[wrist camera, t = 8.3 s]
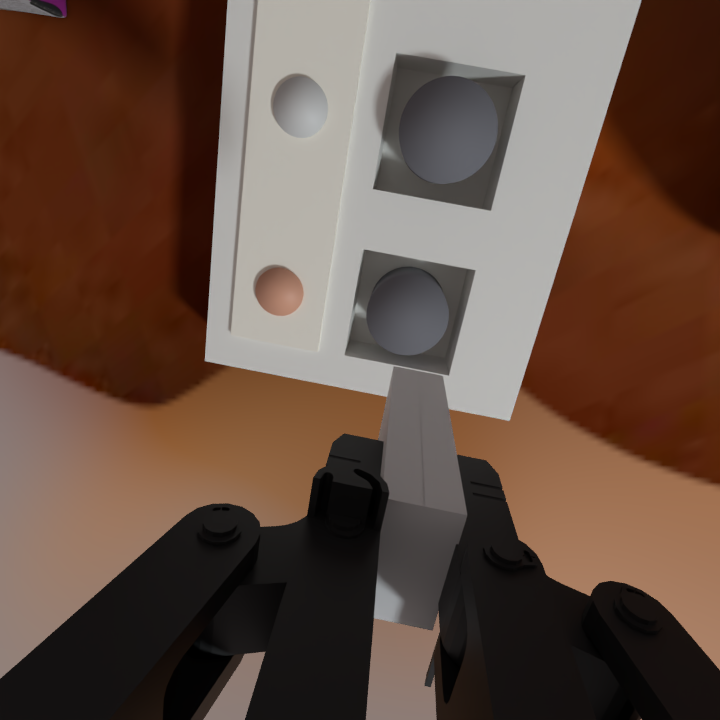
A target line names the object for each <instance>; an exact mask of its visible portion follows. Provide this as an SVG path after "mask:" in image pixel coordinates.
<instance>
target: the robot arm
mask: <svg viewBox="0 0 720 720" xmlns="http://www.w3.org/2000/svg"><path fill="white" fill-rule="evenodd" d="M438 611H439V623H440V633H439V636H438V639H437V643H436V646H435V650H434V652H433V655H432V659H431V662H430V665H429V668H428V672H427V675H426V680H425V686H428V687H431V684H432V680H433V678H434V675H435V692H436V693H435V694H436V715H437V720H640V719H642V720H720V670H719V669H718V668H717V666H716V665H715V664H714V663H713V662H712V661H711V659H710V658H709V657H708V656H707V655H706V654H705V652H704V651H703V650H702V649H701V648H700V647H699V646H698V644H697V643H696V642H695V641H694V640H693V638H692V637H691V636H690V635H689V634H688V633H687V631H686V630H685V629H684V628H683V627H682V625H681V624H680V623H679V622H678V621H677V620H676V618H675V617H674V616H673V615H672V614H671V613H670V612H669V611H668V610H667V609H666V608H665V607H664V606H663V605H662V604H661V603H660V602H658V601H657V600H656V599H654V598H653V597H651V596H649V595H648V594H646V593H645V592H643V591H642V590H640V589H637V588H635V587H632V586H630V585H628V584H625V583H619V582H614V581H608V582H602V583H599V584H598V585H597V586H596V587H595V588H594V589H593V591H592V594H591V596H588V595H586V594H584V593H581V592H579V591H577V590H575V589H572V588H570V587H568V586H565V585H563V584H561V583H559V582H557V581H555V580H553V579H552V578H550V577H548V576H547V575H546V574H545V571H544V568H543V565H542V563H541V562H540V560H539V558H538V556H537V555H536V553H535V552H534V551H533V550H531V549H530V548H529V547H528V546H527V545H526V544H525V543H523V542H521V541H520V540H518V536H517V533H516V530H515V527H514V524H513V521H512V517H511V514H510V511H509V508H508V504H507V502H506V498H505V495H504V491H503V490H502V485H501V482H500V478H499V475H498V473H497V472H496V471H495V470H494V469H493V468H492V466H491V465H490V464H489V463H488V462H487V461H486V460H481V459H476V458H471V457H466V456H461V455H457V454H456V448H455V442H454V436H453V431H452V425H451V419H450V414H449V408H448V402H447V397H446V391H445V385H444V380H443V376H442V375H437V374H432V373H427V372H422V371H416V370H411V369H406V368H401V367H396V366H394V367H393V371H392V376H391V381H390V386H389V390H388V395H387V400H386V405H385V409H384V415H383V419H382V424H381V429H380V433H379V438H378V440H373V439H369V438H364V437H359V436H354V435H349V434H343V435H342V436H340V437H339V438H338V439H337V440H335V441H334V442H333V444H332V447H331V450H330V453H329V457H328V460H327V463H326V467H324V468H322V469H320V470H318V472H317V473H316V475H315V476H314V477H313V483H312V489H311V495H310V502H309V508H308V514H307V516H306V517H304V518H303V519H301V520H299V521H297V522H295V523H292V524H288V525H282V526H271V527H260V523H259V521H258V520H257V518H256V517H255V516H254V514H253V513H251V512H250V511H248V510H246V509H245V508H243V507H240V506H236V505H232V504H211V505H207V506H203V507H200V508H197V509H195V510H194V511H192V512H191V513H189V514H187V515H186V516H185V517H183V518H182V519H181V520H180V521H179V522H178V523H177V524H176V525H174V526H173V527H172V528H171V529H170V530H169V531H168V532H166V533H165V534H164V535H163V536H162V537H161V538H160V539H159V540H157V541H156V542H155V543H154V544H153V545H152V546H151V547H149V548H148V549H147V550H146V551H145V552H144V553H143V554H142V555H140V556H139V557H138V558H137V559H136V560H135V561H134V562H132V563H131V564H130V565H129V566H128V567H127V568H126V569H125V570H123V571H122V572H121V573H120V574H119V575H118V576H117V577H115V578H114V579H113V580H112V581H111V582H110V583H109V584H107V585H106V586H105V587H104V588H103V589H102V590H101V591H100V592H98V593H97V594H96V595H95V596H94V597H93V598H92V599H90V600H89V601H88V602H87V603H86V604H85V605H84V606H82V607H81V608H80V609H79V610H78V611H77V612H76V613H75V614H73V616H71V617H70V618H69V619H68V620H67V621H65V622H64V623H63V624H62V625H61V626H60V627H59V628H58V629H56V630H55V631H54V632H53V633H52V634H51V635H50V636H48V637H47V638H46V639H45V640H44V641H43V642H42V643H41V644H40V645H38V646H37V647H36V648H35V649H34V650H33V651H31V652H30V653H29V654H28V655H27V656H26V657H25V658H24V659H22V660H21V661H20V662H19V663H18V664H17V665H15V666H14V667H13V668H12V669H11V670H10V671H9V672H8V673H6V674H5V675H4V676H3V677H2V678H1V679H0V720H203V719H204V718H205V716H206V714H207V713H208V711H209V710H210V708H211V706H212V705H213V704H214V702H215V701H216V699H217V697H218V696H219V694H220V693H221V691H222V690H223V688H224V687H225V685H226V683H227V682H228V681H229V679H230V677H231V676H232V674H233V673H234V671H235V670H236V668H237V667H238V665H239V664H240V662H241V660H242V658H243V655H244V654H247V653H256V652H265V651H266V652H265V656H264V659H263V662H262V665H261V669H260V672H259V675H258V679H257V682H256V685H255V688H254V692H253V695H252V698H251V701H250V705H249V708H248V712H247V715H246V718H245V720H366V709H367V695H368V684H369V670H370V658H371V645H372V633H373V621H374V618H376V619H381V620H385V621H390V622H395V623H400V624H405V625H409V626H414V627H419V628H423V629H428V630H433V627H434V624H435V620H436V617H437V614H438Z"/></svg>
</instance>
